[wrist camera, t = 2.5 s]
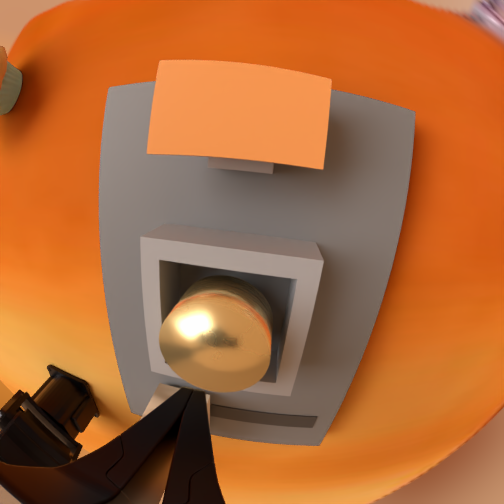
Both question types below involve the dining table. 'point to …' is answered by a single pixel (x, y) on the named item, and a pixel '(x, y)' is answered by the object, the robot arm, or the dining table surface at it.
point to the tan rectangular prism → (163, 394)
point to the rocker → (239, 112)
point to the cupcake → (8, 83)
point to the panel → (255, 255)
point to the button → (219, 334)
